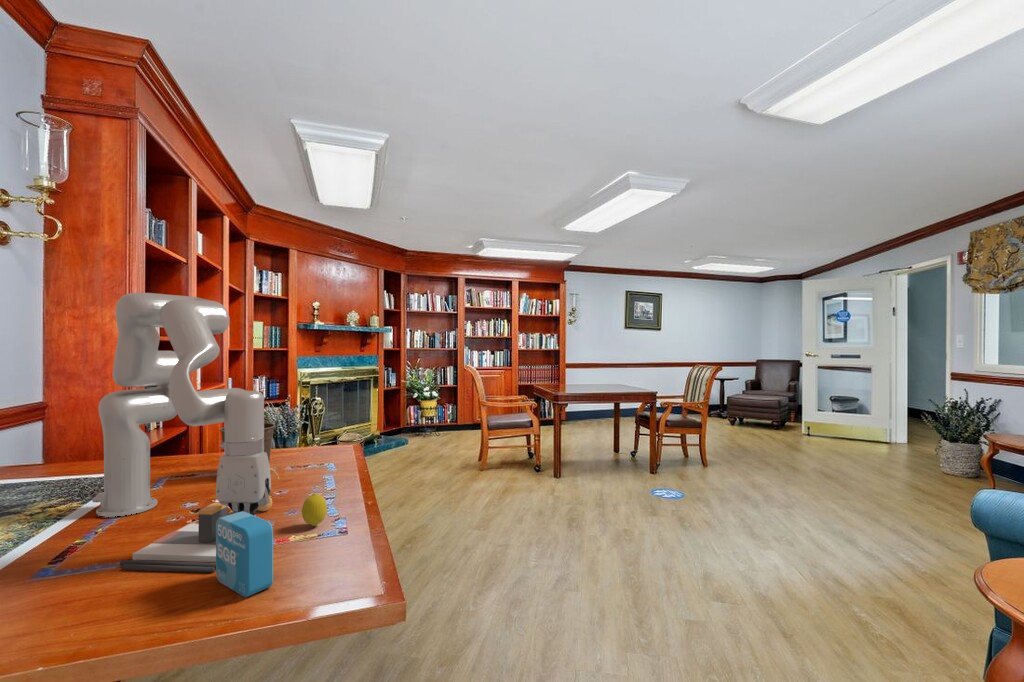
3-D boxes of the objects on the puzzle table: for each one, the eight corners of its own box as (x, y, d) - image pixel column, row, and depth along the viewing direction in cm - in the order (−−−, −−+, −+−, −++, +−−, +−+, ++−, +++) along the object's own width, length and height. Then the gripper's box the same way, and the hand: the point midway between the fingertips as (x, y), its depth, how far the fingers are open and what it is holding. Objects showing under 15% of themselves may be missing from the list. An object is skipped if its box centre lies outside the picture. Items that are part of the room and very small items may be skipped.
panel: (131, 559, 97) (131, 552, 97) (189, 528, 113) (189, 522, 113) (227, 562, 96) (227, 555, 96) (272, 530, 112) (272, 524, 112)
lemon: (331, 523, 116) (331, 491, 116) (315, 532, 111) (315, 498, 111) (313, 520, 118) (313, 488, 118) (296, 529, 112) (296, 495, 112)
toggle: (198, 542, 102) (198, 510, 102) (214, 532, 107) (214, 502, 107) (211, 542, 102) (211, 510, 102) (227, 532, 107) (227, 502, 107)
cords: (112, 570, 92) (112, 565, 92) (123, 564, 95) (123, 559, 95) (212, 573, 91) (212, 568, 91) (221, 567, 94) (221, 562, 94)
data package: (215, 580, 89) (215, 516, 89) (240, 570, 92) (240, 509, 92) (248, 600, 82) (247, 531, 82) (273, 589, 86) (273, 522, 86)
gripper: (199, 451, 100) (199, 537, 100) (267, 452, 99) (268, 539, 100) (223, 443, 108) (223, 524, 108) (286, 444, 107) (287, 525, 107)
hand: (244, 531), depth 104 cm, fingers closed
